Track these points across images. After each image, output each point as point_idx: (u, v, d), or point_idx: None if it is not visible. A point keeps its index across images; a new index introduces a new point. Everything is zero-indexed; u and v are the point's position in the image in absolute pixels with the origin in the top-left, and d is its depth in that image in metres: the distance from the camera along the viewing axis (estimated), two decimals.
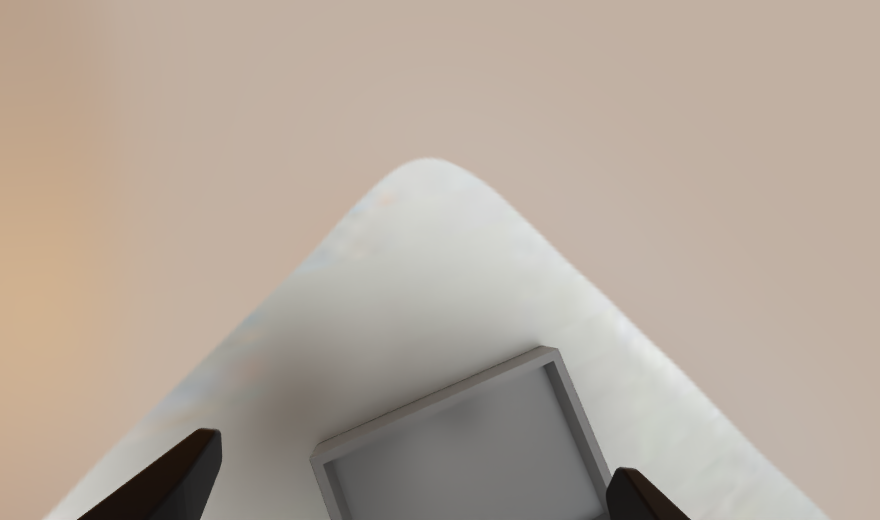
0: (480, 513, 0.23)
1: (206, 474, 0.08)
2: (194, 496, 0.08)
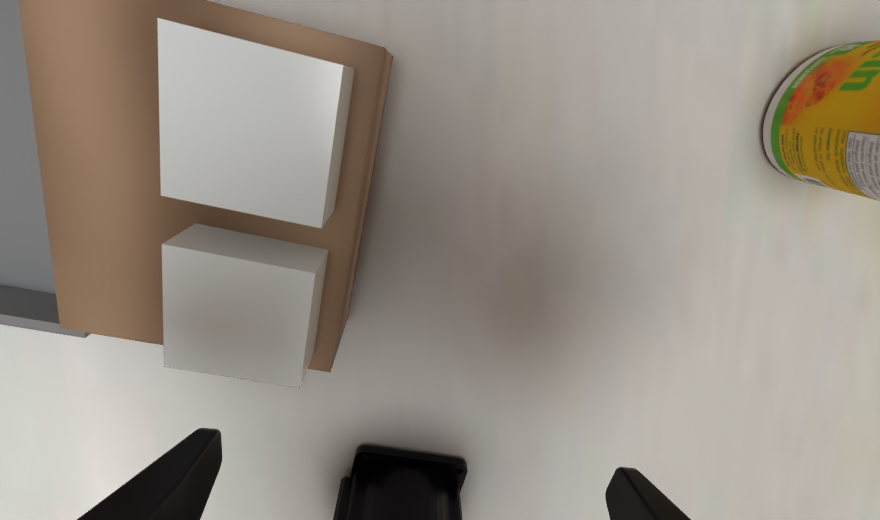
0: (10, 146, 0.16)
1: (206, 474, 0.08)
2: (194, 496, 0.08)
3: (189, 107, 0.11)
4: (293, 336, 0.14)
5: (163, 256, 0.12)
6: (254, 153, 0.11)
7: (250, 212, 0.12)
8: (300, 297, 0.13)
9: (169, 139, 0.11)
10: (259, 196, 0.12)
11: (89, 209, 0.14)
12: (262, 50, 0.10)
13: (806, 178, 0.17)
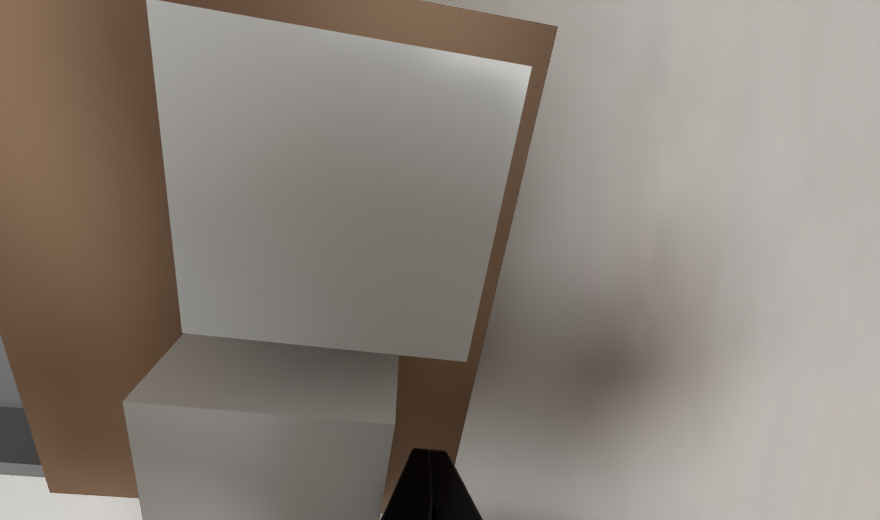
0: None
1: None
2: None
3: (224, 176, 0.06)
4: (358, 514, 0.08)
5: (128, 420, 0.07)
6: (349, 249, 0.06)
7: (342, 347, 0.07)
8: (369, 460, 0.08)
9: (190, 237, 0.06)
10: (358, 320, 0.06)
11: (70, 332, 0.09)
12: (368, 49, 0.05)
13: None
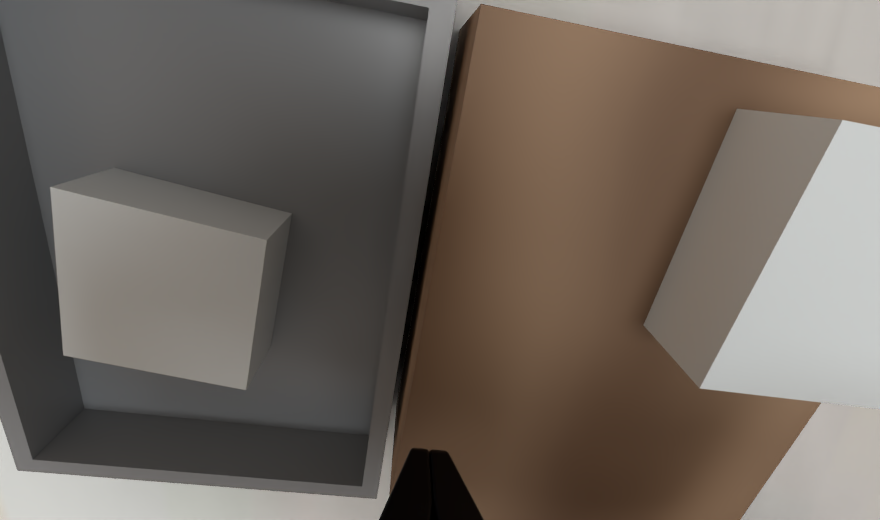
0: (286, 260, 0.12)
1: None
2: None
3: (815, 260, 0.06)
4: None
5: (288, 226, 0.11)
6: None
7: (826, 401, 0.07)
8: None
9: (756, 309, 0.07)
10: (853, 379, 0.07)
11: (476, 372, 0.09)
12: None
13: None
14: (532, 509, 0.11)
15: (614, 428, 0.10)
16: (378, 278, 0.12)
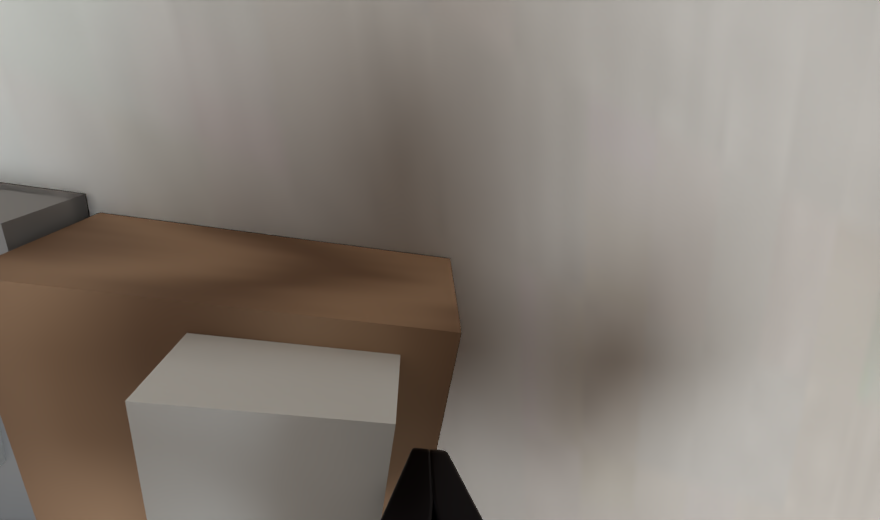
0: None
1: None
2: None
3: (183, 484, 0.08)
4: None
5: None
6: (276, 519, 0.08)
7: None
8: None
9: (159, 516, 0.08)
10: None
11: (92, 519, 0.11)
12: (279, 421, 0.07)
13: None
14: None
15: None
16: None
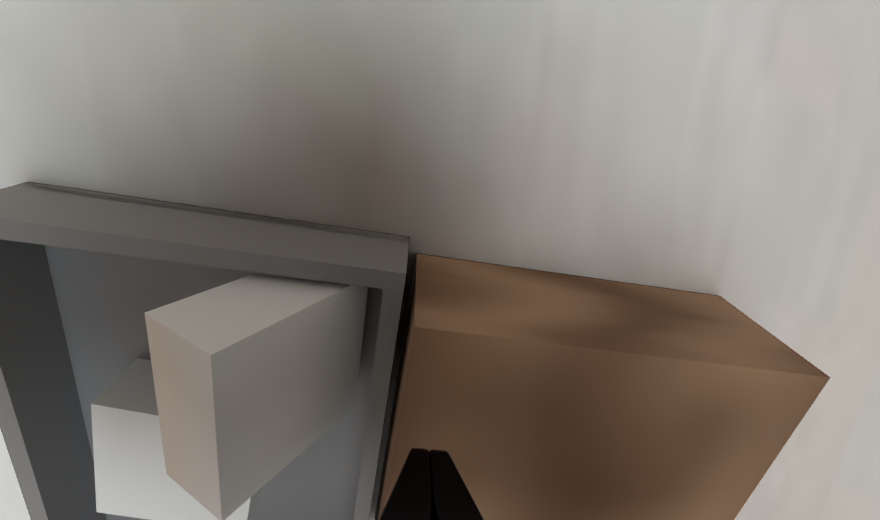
0: None
1: None
2: None
3: None
4: None
5: None
6: None
7: None
8: None
9: None
10: None
11: None
12: None
13: None
14: None
15: None
16: (355, 429, 0.15)
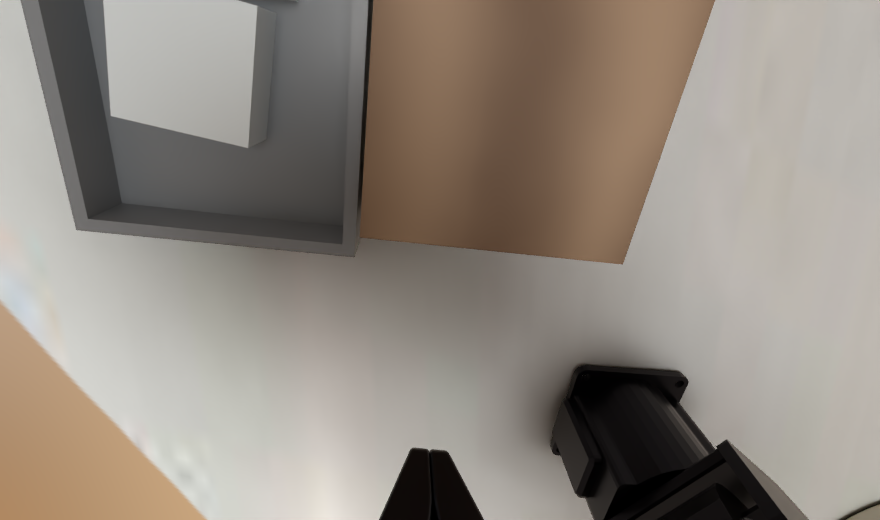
0: (274, 57, 0.15)
1: None
2: None
3: None
4: None
5: (274, 25, 0.15)
6: None
7: None
8: None
9: None
10: None
11: (412, 94, 0.13)
12: None
13: None
14: (468, 232, 0.15)
15: (521, 148, 0.14)
16: (346, 72, 0.16)
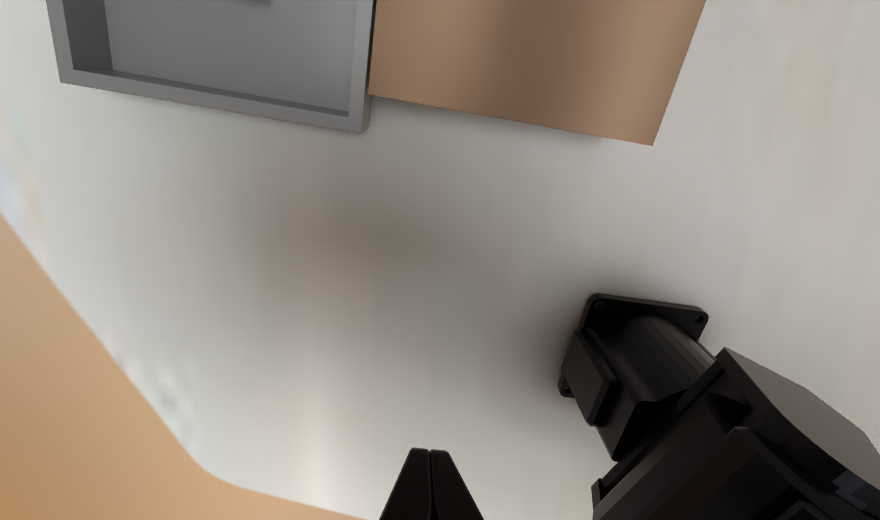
0: None
1: None
2: None
3: None
4: None
5: None
6: None
7: None
8: None
9: None
10: None
11: None
12: None
13: None
14: (487, 96, 0.14)
15: None
16: None
